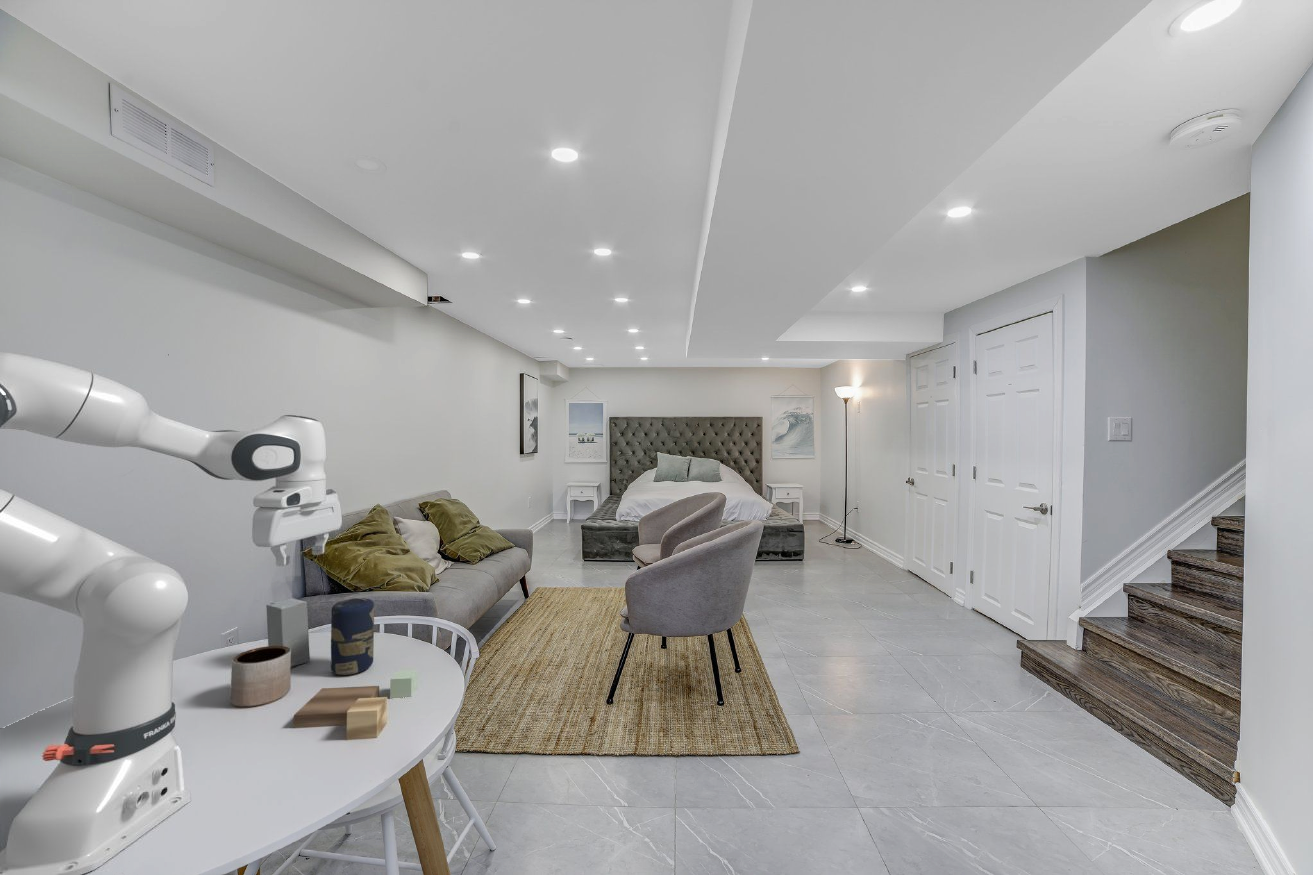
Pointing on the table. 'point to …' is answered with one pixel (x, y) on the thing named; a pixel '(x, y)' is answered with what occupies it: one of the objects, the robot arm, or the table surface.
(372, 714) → the oak cube
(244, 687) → the planter
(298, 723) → the base plate
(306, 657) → the skincare box
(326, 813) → the table surface
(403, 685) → the green cube
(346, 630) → the canister
